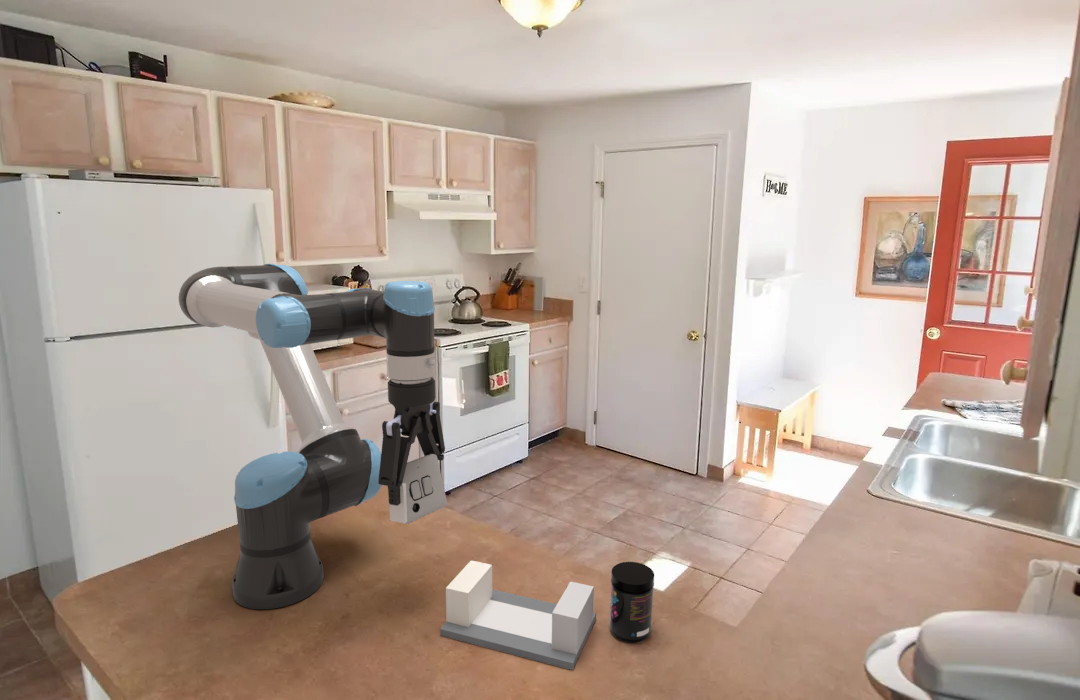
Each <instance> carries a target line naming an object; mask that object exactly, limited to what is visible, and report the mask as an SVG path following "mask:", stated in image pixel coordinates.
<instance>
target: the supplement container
mask: <svg viewBox="0 0 1080 700" xmlns="http://www.w3.org/2000/svg"><path fill="white" fill-rule="evenodd" d="M610 575H611V576H610V577H611V578H610V582H611V584H610V586H611V587H610V607H609V608H610V609H609V612H610V613H609V629H610V631H611V633H612V636H614V637H615V638H616V639H618V640H619V641H621V642H624V643H628V644H629V643H630V644H638V643H641V642H644V641H646V640H647V639H648V638H649V637H650V635H651V633H652V624H653V623H652V621H653V601H654V588H655V587H654V586H655V572H654V571H653V569H652V568H650V566H648V565H646V564H644V563H640V562H637V561H623V562H619V563H617V564H615V565H614V566H613V567H612V568H611V574H610Z"/></svg>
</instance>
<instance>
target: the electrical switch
mask: <svg viewBox="0 0 1080 700" xmlns="http://www.w3.org/2000/svg"><path fill="white" fill-rule="evenodd" d="M403 483H406V500H407V522H406V523H405V524H404V523H402V524H403V525H407V524H410V523H413V522H415V521H418V520H419V519H422V518H424V517H426V516H427V515H430V514H432V513H435V512H436V511H439V510H441V509H443V508H445V507H446V506H447V504H448V500H447V495H446V492H445V491H446V490H445V486H444V483H443V477H442V474H441V468H440V464H439V460H438V458H437V456H436V455H435V454H429V455H426V456H424V455H423V456H422V457H419V458H418V457H417V458H416V459H413V460H411V461H410V460H409V461H407V465H406V469H405V474H404V478H403Z"/></svg>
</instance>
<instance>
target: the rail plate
mask: <svg viewBox="0 0 1080 700" xmlns="http://www.w3.org/2000/svg"><path fill="white" fill-rule="evenodd" d="M594 593H595V586H592V585H588V584H583V583H579V582H576V581H575V582H574V581H569V583H568V584H567V587H566V588H565V590H564V591H563V593H562V595H561V597H560V598H559V600H558V602H557V603H554V602H551V601H550V602H549V601H545V600H541V599H537V598H532V597H528V596H523V595H520V594H519V595H518V594H515V593H510V592H505V591H501V590H497V589H493V565H492V564H490V563H484V562H482V561H481V562H480V561H475V560H471V559H470V561H469V562H468V563H467V564H466V565H465V566H464V567H463V569H462V570H461V571H460V572H459V573H458V574H457V575H456V576H455V577H454V579H452V581H451V582H449V584H448V585H447V586H446V587H445V607H446V608H445V611H446V615H445V617H446V619H445V620H446V621H445V623H444V624H443V625H442V626H441V628H440V637H444V638H449V639H451V640H456V641H459V642H463V643H467V644H471V645H475V646H479V647H483V648H486V649H489V650H494V651H498V652H502V653H505V654H508V655H509V654H510V655H513V656H518V657H521V658H523V659H528V660H531V661H535V662H536V661H537V662H539V663H543V664H547V665H550V666H555V667H559V668H562V669H565V668H566V669H567V670H569V669H570V671H573V670H574V669H575V666H576V663H577V662H578V660H579V657H580V655H581V653H582V650H583V649H584V647H583V646H585V644H586V641H587V640H588V638H589V636H588V635H590V633H591V631H592V630H593V626H594V625H593V624H595V623H596V620H597V612H594V595H595V594H594ZM594 622H595V623H594ZM587 637H588V638H587ZM577 659H578V660H577Z"/></svg>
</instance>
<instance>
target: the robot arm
mask: <svg viewBox="0 0 1080 700" xmlns="http://www.w3.org/2000/svg"><path fill="white" fill-rule="evenodd" d="M308 291H309V290H308V287H307V285H306V282H305V281H304V278H303V277H302V276H301V275H300V273H299V272H298V271H297V270H296V269H294V268H293V267H292V266H289V265H286V264H275V263H266V264H262V265H240V266H238V265H237V266H235V265H232V266H214V267H208V268H203V269H201V270H199V271H197V272H195V273H193V274H192V275H190V276H189V277H188V278H186V280H185V281H184V282H183V283H182V285H181V287H180V289H179V292H178V305H179V306H180V309H181V312H182V313H183V314H184V315H185V317H186V318H187V319H189V320H190V321H191V322H193V323H195V324H197V325H200V326H204V327H207V328H221V327H224V326H226V327H229V328H233V329H237V330H240V331H245V332H247V334H248V335H249V336H250V337H251V338H254V339H256V340H259V342H260V344H261V346H262V349H263V351H264V353H265V355H266V358H267V361H268V364H269V365H270V368H271V371H272V373H273V374H274V379H275V380H276V383H277V385H278V388H279V390H280V392H281V395H282V397H283V399H284V402H285V403H286V406H287V409H288V411H289V413H290V417H291V419H292V421H293V423H294V426H295V428H296V431H297V434H298V435H299V438H300V440H301V445H300V447H299V449H298V451H282V452H279V453H278V452H273V453H269V454H267V455H263V456H261V457H258V458H256V459H253V460H252V461H250V462H248V463H246V464H245V465H244V466H243V467H242V468H240V471H239V472H238V473H237V474H236V476H235V479H234V497H233V501H234V503H235V510H236V519H237V529H238V540H239V552H240V553H239V555H238V560H237V563H236V569H235V574H234V575H233V579H232V582H231V584H232V585H231V589H232V596H233V599H234V601H235V602H236V603H237V604H238V605H239V606H241V607H244V608H247V609H252V610H272V609H273V610H274V609H278V608H279V609H280V608H283V607H288V606H291V605H293V604H297V603H298V602H301V601H303V600H304V599H306V598H309V597H310V596H312V595H313V594H314V593H315V592H317V590H319V588H320V587H321V586H322V584H323V582H324V579H325V577H324V576H325V575H324V564H323V563H322V560H321V559H320V557H319V554H318V552H317V549H316V547H315V545H314V543H313V541H312V536H311V535H312V534H311V523H312V522H315V521H317V520H319V519H322V518H325V517H327V516H330V515H333V514H336V513H338V512H341V511H344V510H346V509H349V508H351V507H358V506H360V505H361V504H362V503H365V502H366V501H368V500H371V499H372V498H374V497H376V496H377V494H379V492H380V490H381V488H382V486H387V490H388V491H387V492H388V493H387V494H388V504H389V505H388V506H389V521H391V522H395V523H400V524H403V523H404V524H403V525H406V524H405V523H406V522H407V500H406V483H403V478H404V474H405V469H406V465H407V462H409V461H408V460H409V457H410V452H411V448H412V444H414V443H415V441H416V438H417V441H418V444H419V446H420V448H421V451H422V454H423V457H424V456H426V455H429V454H435V455H436V456H437V458H438V461H443V460H444V458H445V455H444V453H445V451H446V446H445V440H444V433H443V428H442V421H441V415H440V409H441V406H440V402H439V401H436V393H437V392H436V379H434V376H435V373H436V370H435V366H436V364H437V363H436V360H435V309H436V308H435V304H434V294H433V287H432V285H431V284H430V283H428V282H426V281H419V280H416V281H415V280H396V281H390V282H387V283H386V284H385V285H384V289H383V290H378V289H377V290H376V289H372V288H368V287H363V288H358V287H357V288H351V289H349V290H347V291H341V292H331V293H329V292H328V293H323V294H322V293H321V294H309V292H308ZM366 336H367V337H369V336H374V337H380V338H384V339H385V346H386V377H388V378H389V380H388V381H387V399H388V402H389V404H390V405H392V406H393V407H394V414H393V419H391V420H390V421H387V420H384V421H383V422H382V424H381V428H382V442H381V450H380V448H379V446H378V445H377V443H375V442H374V441H373V440H371V439H366V438H363V439H361V436H360V434H359V433H358V430H357V428H356V427H354V426H350V425H347V424H346V423H345V420H344V418H343V416H342V414H341V413H342V412H341V411H340V409H339V406H338V404H337V403H336V400H335V397H334V396H333V393H332V390H331V388H330V386H329V384H328V381H327V379H326V377H325V375H324V372H323V371H322V368H321V366H320V362H319V361H318V359H317V357H316V354H315V352H314V350H313V348H312V345H311V344H319V343H323V342H325V343H326V342H331V341H338V340H339V341H340V340H346V339H353V338H361V337H366Z"/></svg>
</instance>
